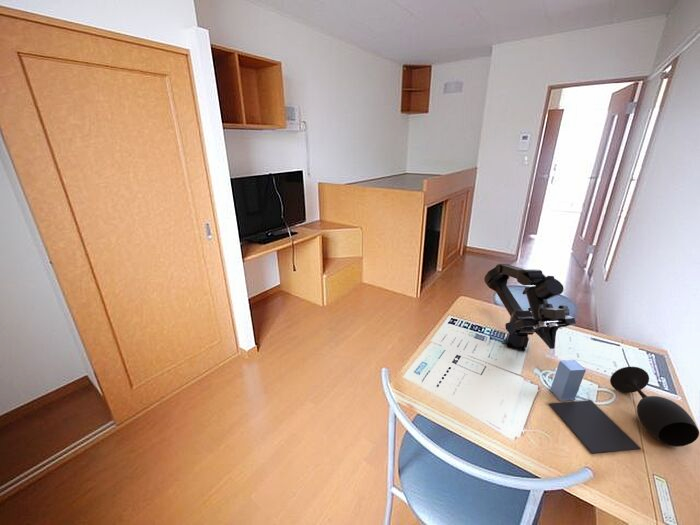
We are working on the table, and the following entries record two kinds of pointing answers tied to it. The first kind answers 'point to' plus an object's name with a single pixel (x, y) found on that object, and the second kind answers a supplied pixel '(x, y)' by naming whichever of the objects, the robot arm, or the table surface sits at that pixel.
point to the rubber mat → (593, 427)
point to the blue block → (567, 379)
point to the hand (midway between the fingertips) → (552, 348)
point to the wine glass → (656, 409)
